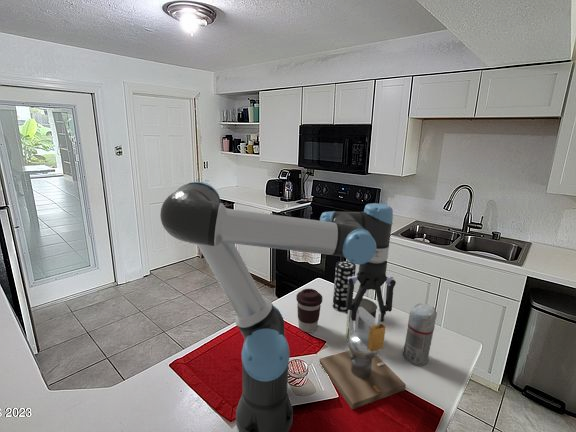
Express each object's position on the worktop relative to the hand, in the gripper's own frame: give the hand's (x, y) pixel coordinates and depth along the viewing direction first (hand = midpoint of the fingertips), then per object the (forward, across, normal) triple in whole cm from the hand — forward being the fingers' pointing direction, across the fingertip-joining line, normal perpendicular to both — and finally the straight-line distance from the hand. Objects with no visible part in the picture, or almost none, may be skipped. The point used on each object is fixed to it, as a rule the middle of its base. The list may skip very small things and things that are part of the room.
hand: (365, 329), depth 95 cm
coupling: (+7, 0, 0) cm, 7 cm away
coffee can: (+17, +3, +19) cm, 26 cm away
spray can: (+17, +21, +10) cm, 29 cm away
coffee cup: (+17, -16, +25) cm, 34 cm away
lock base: (+17, 0, 0) cm, 17 cm away
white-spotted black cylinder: (+17, 0, +41) cm, 44 cm away
